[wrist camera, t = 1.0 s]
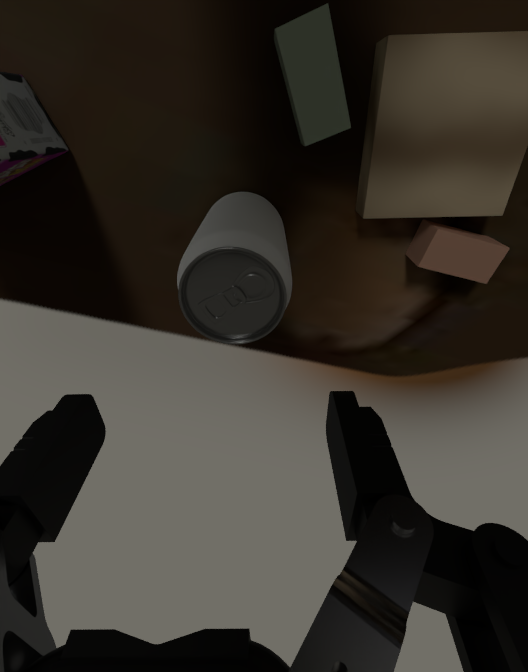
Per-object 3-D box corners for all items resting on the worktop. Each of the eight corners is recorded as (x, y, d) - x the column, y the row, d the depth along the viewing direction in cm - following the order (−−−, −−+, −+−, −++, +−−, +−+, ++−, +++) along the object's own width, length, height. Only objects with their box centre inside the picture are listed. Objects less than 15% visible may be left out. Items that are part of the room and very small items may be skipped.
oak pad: (376, 43, 21) (388, 35, 19) (538, 38, 21) (569, 30, 19) (355, 210, 26) (363, 218, 24) (483, 207, 26) (502, 215, 24)
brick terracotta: (404, 253, 28) (417, 266, 26) (421, 218, 27) (438, 228, 24) (467, 269, 29) (486, 283, 27) (487, 236, 28) (510, 248, 25)
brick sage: (273, 39, 21) (274, 28, 18) (320, 17, 20) (328, 3, 18) (300, 143, 24) (305, 146, 21) (341, 126, 23) (351, 127, 21)
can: (298, 244, 28) (317, 317, 18) (234, 283, 30) (219, 367, 20) (255, 172, 25) (250, 210, 15) (188, 219, 27) (142, 282, 17)
